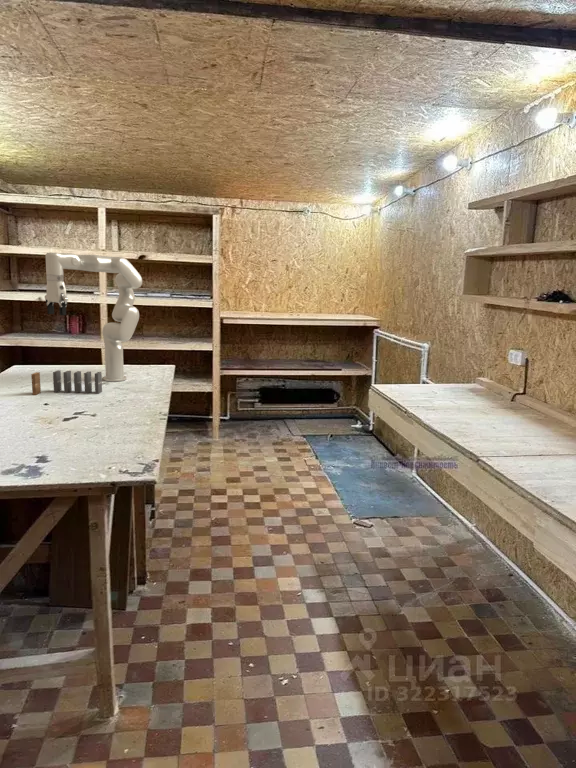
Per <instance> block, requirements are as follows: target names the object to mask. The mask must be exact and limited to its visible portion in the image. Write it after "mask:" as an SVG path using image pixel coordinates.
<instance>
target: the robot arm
mask: <svg viewBox="0 0 576 768" xmlns="http://www.w3.org/2000/svg"><path fill="white" fill-rule="evenodd" d="M64 270H77V271H85V272H95V273H105V274H106V273H110V274H116V275H115V280H114V281H115V284H116V286H117V288H118V298H117V301H116V303H115V305H114V307H113V309H112V313H111V316H112V319H113V320H114V321H116V322H108V323H106V324H104V326H103V327H102V331H101V332H102V339H103V343H104V361H105V362H104V363H105V364H104V366H105V370H104V371H105V376H102V380H103V381H105V382H123V381H126V380H127V378H128V377H127V376H125V375H124V374H125V373H124V346H123V342H124V343H125V342H128V341H129V340H131V338H132V337H133V335H134V332H135V331H136V328H137V325H138V322H139V319H140V312H139V309H138V308H137V307H135V306H134V303H135V299H136V298H135V297H136V296H135V293H134V290H135V289H136V290H137V289H139V288H141V286H142V285H143V278H142V275H141V274H140V272H138V270H137V269H136V268H135V266H133V264H132V263H131V262H130V261H129V260H128V259H127V258H125V257H123V256H110V255H109V256H108V255H106V256H105V255H99V254H75V253H71V252H69V253H68V252H46V253H45V271H46V295H45V296H44V299H45V304H46V307H47V310H46V311H47V314H48V315H54V314H55V306H54V304H55V303H58V305H59V309H58V311H59V316H66V315H67V304H68V301H69V298H68V297H67V288H66V283H65V280H64V277H65V276H64Z"/></svg>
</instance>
